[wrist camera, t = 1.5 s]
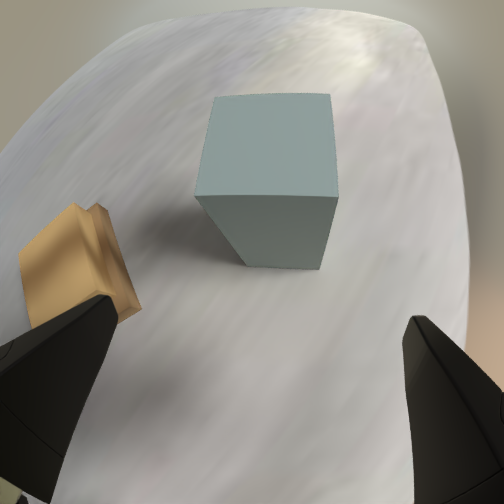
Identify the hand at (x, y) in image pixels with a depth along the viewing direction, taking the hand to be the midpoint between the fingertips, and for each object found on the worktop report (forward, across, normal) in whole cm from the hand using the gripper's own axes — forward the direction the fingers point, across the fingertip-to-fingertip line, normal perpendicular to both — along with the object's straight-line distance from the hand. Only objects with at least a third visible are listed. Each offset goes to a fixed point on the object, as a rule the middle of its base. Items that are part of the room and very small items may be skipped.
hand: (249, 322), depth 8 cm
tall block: (+13, 0, +4) cm, 14 cm away
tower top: (+9, +17, +6) cm, 20 cm away
